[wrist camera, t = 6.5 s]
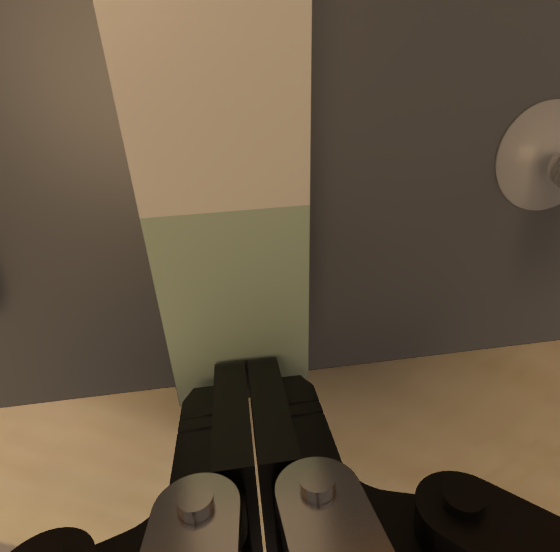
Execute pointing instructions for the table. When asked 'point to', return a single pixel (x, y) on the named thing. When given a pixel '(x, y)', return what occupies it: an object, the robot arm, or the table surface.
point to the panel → (323, 193)
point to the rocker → (219, 172)
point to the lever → (554, 169)
